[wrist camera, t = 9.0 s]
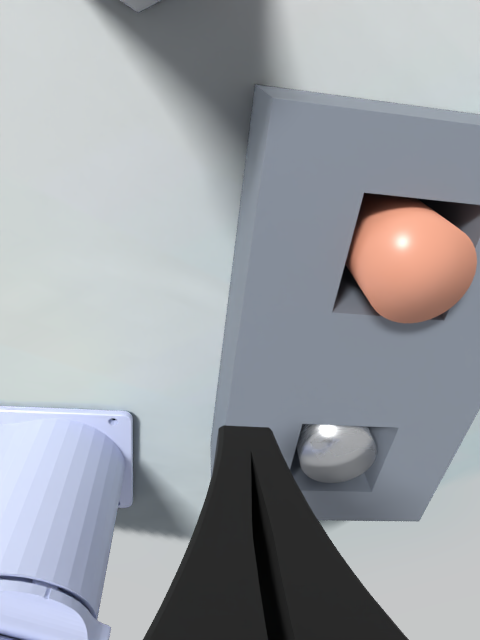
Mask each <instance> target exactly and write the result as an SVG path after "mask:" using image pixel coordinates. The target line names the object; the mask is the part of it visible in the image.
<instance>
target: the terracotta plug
mask: <svg viewBox="0 0 480 640" xmlns="http://www.w3.org/2000/svg"><path fill="white" fill-rule="evenodd" d="M345 265H346V266H347V268H348V270H349V271H350V273H351V274H352V276H353V277H354V279H355V280H356V282H357V283H358V285H359V287H360V288H361V290H362V291H363V293H364V294H365V296H366V297H367V299H368V301H369V302H370V304H371V305H372V307H373V308H374V309H375V310H376V312H377V313H379V314H380V315H381V316H383V317H384V318H386V319H388V320H391V321H394V322H398V323H418V322H423V321H426V320H430V319H432V318H434V317H437V316H439V315H441V314H442V313H444V312H446V311H447V310H449V309H450V308H451V307H452V306H454V305H455V304H456V303H457V302H458V301H459V300H460V299H461V298H462V297H463V295H464V294H465V293H466V291H467V290H468V288H469V287H470V285H471V283H472V281H473V278H474V275H475V272H476V267H477V255H476V250H475V247H474V245H473V243H472V241H471V240H470V238H469V237H468V236H467V235H466V234H465V233H464V232H463V231H461V230H460V229H459V228H457V227H456V226H454V225H453V224H452V223H450V222H449V221H448V220H446V219H445V218H443V217H442V216H441V215H439V214H438V213H436V212H435V211H434V210H432V209H431V208H430V207H428V206H427V205H425V204H424V203H423V202H421V201H420V200H418V199H417V198H410V197H401V196H392V195H382V194H373V193H364V195H363V199H362V203H361V206H360V210H359V214H358V217H357V221H356V225H355V229H354V232H353V236H352V240H351V244H350V247H349V251H348V255H347V259H346V262H345Z"/></svg>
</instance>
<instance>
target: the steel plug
mask: <svg viewBox="0 0 480 640" xmlns="http://www.w3.org/2000/svg"><path fill="white" fill-rule="evenodd" d="M296 448H297V452H298V457H299V461H300V465H301V468H302V470H303V472H304V473H305V474H306V475H307V476H308V477H310V478H311V479H313V480H316V481H319V482H324V483H338V482H344V481H347V480H350V479H353V478H355V477H357V476H359V475H361V474H362V473H364V472H365V471H366V470H367V469H368V468H369V467H370V466H371V465H372V464H373V462H374V460H375V458H376V454H377V448H376V444H375V442H374V440H373V438H372V435H371V433H370V431H369V428H368V426H343V425H317V424H302V427H301V431H300V434H299V438H298V442H297V446H296Z"/></svg>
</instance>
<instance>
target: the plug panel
mask: <svg viewBox="0 0 480 640" xmlns="http://www.w3.org/2000/svg"><path fill="white" fill-rule="evenodd" d="M364 193H373V194H382V195H392V196H401V197H410V198H418V200H420V201H421V202H423V203H424V204H425V205H427V206H428V207H430V208H431V209H432V210H434V211H435V212H436V213H438V214H439V215H441V216H442V217H443V218H445V219H446V220H448V221H449V222H450V223H452V224H453V225H454V226H456V227H457V228H459V229H460V230H461V231H463V232H464V233H465V234H466V235H467V236H468V237H469V238H470V240H471V241H472V243H473V245H474V247H475V250H476V255H477V267H476V272H475V275H474V278H473V281H472V283H471V285H470V287H469V288H468V290H467V291H466V293H465V294H464V295H463V297H462V298H461V299H460V300H459V301H458V302H457V303H456V304H455V305H454V306H452V307H451V308H450V309H449V310H447V311H446V312H444V313H442V314H441V315H439V316H437V317H434V318H432V319H430V320H426V321H423V322H418V323H398V322H394V321H391V320H388V319H386V318H384V317H383V316H381V315H380V314H379V313H377V312H376V310H375V309H374V308H373V307H372V305H371V304H370V302H369V301H368V299H367V297H366V296H365V294H364V293H363V291H362V290H361V288H360V287H359V285H358V283H357V282H356V280H355V279H354V277H353V276H352V274H351V273H350V271H349V270H348V268H347V266H346V265H345V262H346V259H347V255H348V251H349V247H350V244H351V240H352V236H353V232H354V229H355V225H356V221H357V217H358V214H359V210H360V206H361V203H362V199H363V195H364ZM479 409H480V114H472V113H465V112H457V111H450V110H442V109H435V108H428V107H420V106H413V105H405V104H398V103H390V102H383V101H375V100H368V99H361V98H353V97H346V96H338V95H331V94H323V93H316V92H309V91H301V90H294V89H286V88H279V87H271V86H264V85H256V84H255V89H254V97H253V105H252V113H251V121H250V129H249V137H248V145H247V153H246V161H245V169H244V177H243V185H242V193H241V201H240V210H239V218H238V226H237V234H236V242H235V250H234V258H233V266H232V274H231V282H230V290H229V298H228V306H227V314H226V322H225V330H224V338H223V347H222V355H221V363H220V371H219V379H218V387H217V395H216V403H215V411H214V419H213V427H212V435H211V478H212V473H213V466H214V459H215V451H216V444H217V437H218V429H219V428H220V427H222V426H223V425H226V426H248V427H269V428H270V429H271V430H272V431H273V434H274V437H275V439H276V441H277V444H278V446H279V448H280V450H281V453H282V455H283V457H284V459H285V461H286V463H287V465H288V467H289V469H290V471H291V473H292V475H293V477H294V479H295V481H296V483H297V485H298V486H299V488H300V490H301V492H302V494H303V495H304V497H305V499H306V501H307V503H308V504H309V506H310V508H311V509H312V511H313V513H314V515H315V516H316V518H317V519H318V520H351V521H419V520H420V519H421V517H422V515H423V513H424V511H425V509H426V507H427V506H428V504H429V501H430V500H431V498H432V496H433V494H434V493H435V491H436V489H437V487H438V485H439V483H440V481H441V480H442V478H443V476H444V474H445V472H446V470H447V469H448V467H449V465H450V463H451V461H452V459H453V457H454V456H455V454H456V452H457V450H458V448H459V446H460V444H461V443H462V441H463V439H464V437H465V435H466V433H467V431H468V430H469V428H470V426H471V424H472V422H473V420H474V418H475V417H476V415H477V413H478V411H479ZM302 424H317V425H343V426H368V428H369V431H370V433H371V435H372V438H373V440H374V442H375V444H376V448H377V454H376V458H375V460H374V462H373V464H372V465H371V466H370V467H369V468H368V469H367V470H366V471H365V472H364V473H362V474H361V475H359V476H357V477H355V478H353V479H350V480H347V481H344V482H338V483H324V482H319V481H316V480H313V479H311V478H310V477H308V476H307V475H306V474H305V473H304V472H303V470H302V468H301V465H300V461H299V457H298V452H297V448H296V446H297V442H298V438H299V434H300V431H301V427H302Z"/></svg>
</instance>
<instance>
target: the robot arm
mask: <svg viewBox="0 0 480 640" xmlns="http://www.w3.org/2000/svg"><path fill="white" fill-rule="evenodd" d="M111 418H114V419H117V420H112V419H111ZM132 503H133V417H132V415H131V414H130V413H129V412H126V411H112V410H88V409H63V408H39V407H14V406H0V640H109V637H110V631H111V627H110V626H108V625H106V624H103V623H101V622H99V621H98V620H97V618H98V613H99V607H100V602H101V596H102V590H103V585H104V580H105V575H106V569H107V564H108V558H109V553H110V547H111V542H112V537H113V531H114V526H115V521H116V515H117V510H118V508H127V507H130V506H131V505H132ZM143 640H409V639H408V638H407V637H406V636H405V635H404V634H403V633H402V632H401V630H400V629H399V628H398V627H397V626H396V624H395V623H394V622H393V621H392V620H391V618H390V617H389V616H388V615H387V614H386V613H385V611H384V610H383V609H382V608H381V607H380V605H379V604H378V603H377V602H376V601H375V600H374V598H373V597H372V596H371V595H370V593H369V592H368V591H367V590H366V588H365V587H364V586H363V584H362V583H361V582H360V580H359V579H358V578H357V576H356V575H355V574H354V573H353V571H352V570H351V568H350V567H349V566H348V564H347V563H346V562H345V560H344V559H343V557H342V556H341V555H340V553H339V552H338V551H337V549H336V547H335V546H334V544H333V543H332V541H331V540H330V539H329V537H328V535H327V534H326V532H325V531H324V529H323V527H322V526H321V524H320V523H319V521H318V519H317V518H316V516H315V515H314V513H313V511H312V509H311V508H310V506H309V504H308V503H307V501H306V499H305V497H304V495H303V494H302V492H301V490H300V488H299V486H298V485H297V483H296V481H295V479H294V477H293V475H292V473H291V471H290V469H289V467H288V465H287V463H286V461H285V459H284V457H283V455H282V453H281V450H280V448H279V446H278V444H277V441H276V439H275V437H274V434H273V431H272V430H271V429H270V428H269V427H248V426H226V425H223V426H222V427H220V428H219V429H218V437H217V444H216V451H215V459H214V466H213V473H212V478H211V482H210V485H209V489H208V492H207V496H206V499H205V502H204V505H203V508H202V510H201V513H200V516H199V519H198V522H197V525H196V527H195V530H194V533H193V535H192V538H191V540H190V543H189V545H188V548H187V550H186V553H185V555H184V557H183V559H182V562H181V564H180V566H179V568H178V571H177V573H176V575H175V577H174V579H173V582H172V584H171V586H170V588H169V590H168V592H167V594H166V597H165V598H164V601H163V603H162V605H161V607H160V609H159V611H158V613H157V614H156V616H155V618H154V620H153V622H152V624H151V626H150V628H149V630H148V631H147V633H146V635H145V637H144V639H143Z"/></svg>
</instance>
